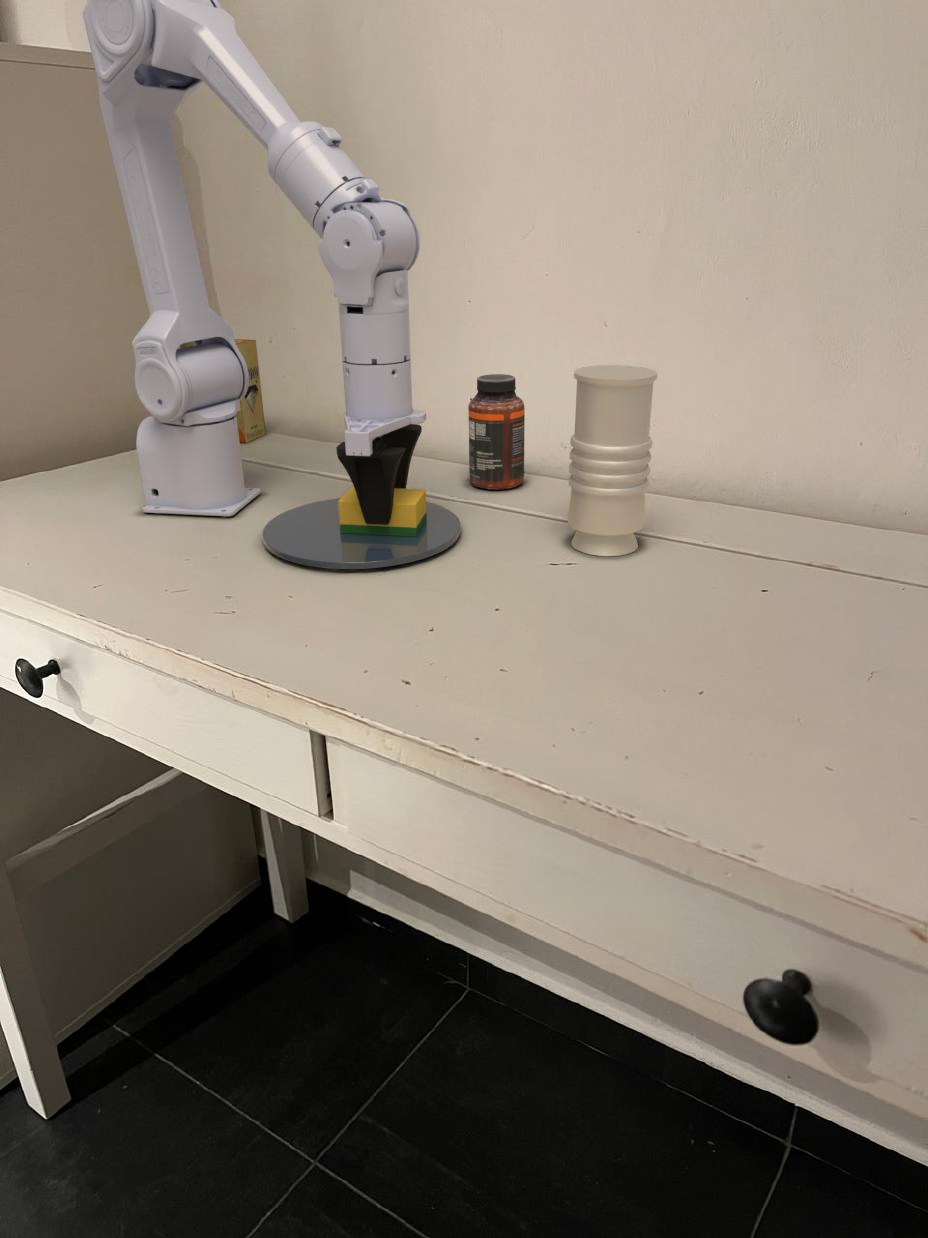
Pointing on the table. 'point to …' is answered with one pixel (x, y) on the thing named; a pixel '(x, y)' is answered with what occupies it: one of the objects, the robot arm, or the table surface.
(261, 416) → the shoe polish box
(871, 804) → the table surface
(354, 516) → the sponge
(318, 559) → the plate
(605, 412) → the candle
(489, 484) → the supplement bottle
